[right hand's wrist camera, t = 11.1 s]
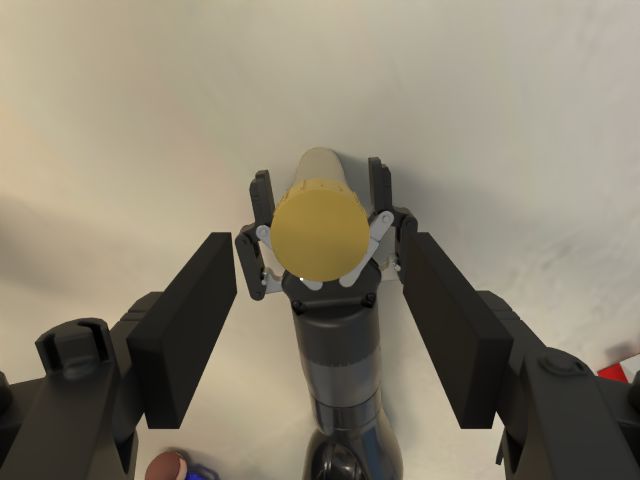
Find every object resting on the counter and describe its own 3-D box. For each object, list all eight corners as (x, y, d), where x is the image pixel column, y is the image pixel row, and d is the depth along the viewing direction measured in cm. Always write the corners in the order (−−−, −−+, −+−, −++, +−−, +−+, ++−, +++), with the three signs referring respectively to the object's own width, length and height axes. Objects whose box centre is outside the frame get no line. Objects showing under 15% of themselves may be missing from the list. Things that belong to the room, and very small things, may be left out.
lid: (309, 158, 18) (307, 166, 15) (383, 211, 19) (391, 227, 16) (258, 231, 19) (249, 248, 17) (329, 276, 20) (330, 299, 18)
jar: (314, 138, 32) (309, 177, 16) (350, 164, 33) (378, 225, 17) (290, 174, 33) (262, 243, 17) (324, 198, 34) (328, 285, 18)
